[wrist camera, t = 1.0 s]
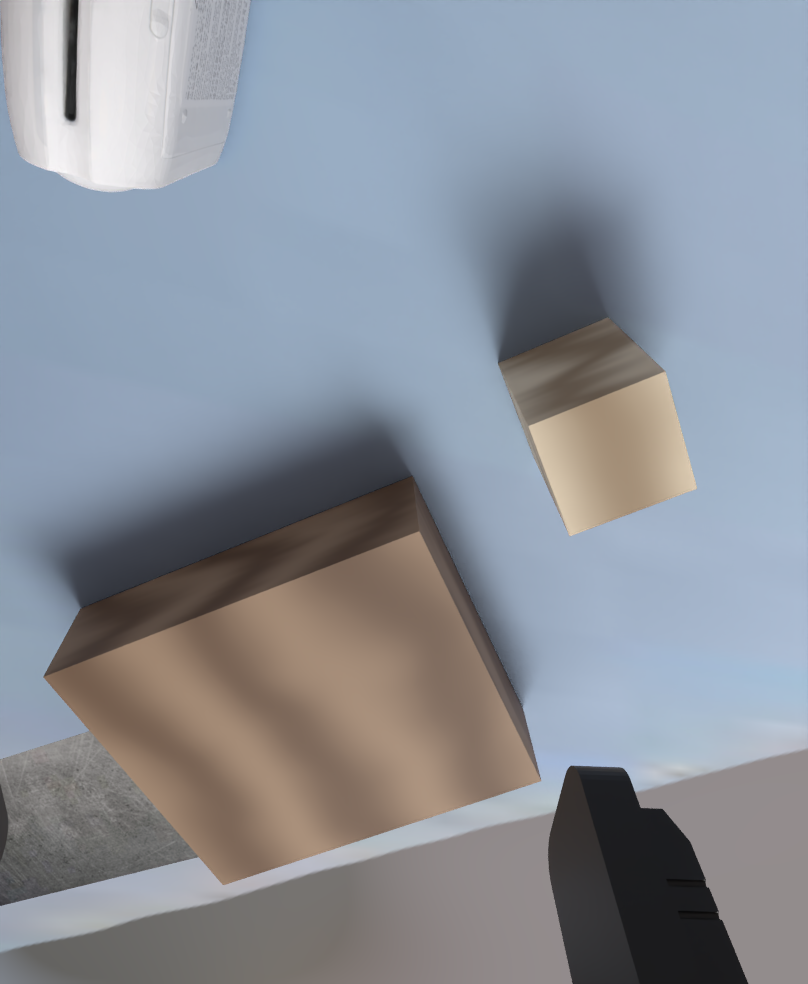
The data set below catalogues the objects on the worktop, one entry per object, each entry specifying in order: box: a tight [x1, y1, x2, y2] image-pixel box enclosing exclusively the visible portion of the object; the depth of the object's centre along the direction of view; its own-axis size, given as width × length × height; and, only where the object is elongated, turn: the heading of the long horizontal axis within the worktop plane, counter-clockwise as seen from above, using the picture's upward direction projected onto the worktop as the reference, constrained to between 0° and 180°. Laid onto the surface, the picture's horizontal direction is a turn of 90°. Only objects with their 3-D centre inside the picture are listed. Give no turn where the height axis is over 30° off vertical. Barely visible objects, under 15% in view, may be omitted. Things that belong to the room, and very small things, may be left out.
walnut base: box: [44, 476, 541, 885], centre depth 38 cm, size 18×16×5 cm
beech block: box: [498, 318, 697, 536], centre depth 31 cm, size 5×5×7 cm
